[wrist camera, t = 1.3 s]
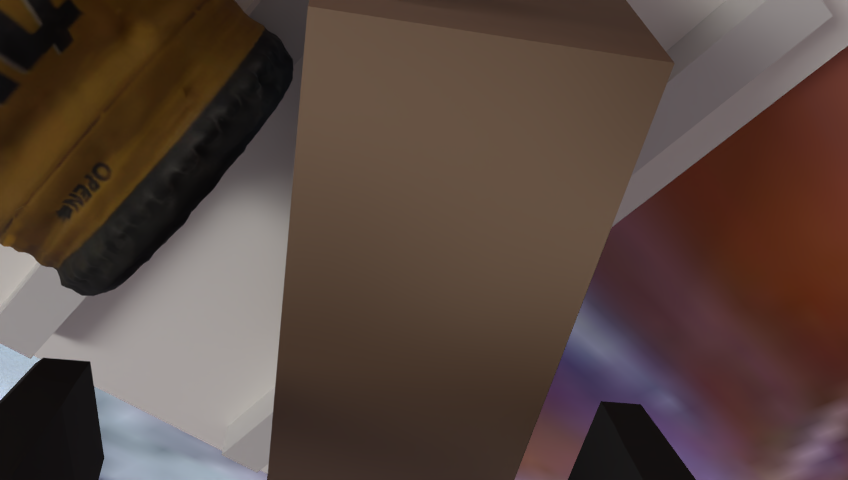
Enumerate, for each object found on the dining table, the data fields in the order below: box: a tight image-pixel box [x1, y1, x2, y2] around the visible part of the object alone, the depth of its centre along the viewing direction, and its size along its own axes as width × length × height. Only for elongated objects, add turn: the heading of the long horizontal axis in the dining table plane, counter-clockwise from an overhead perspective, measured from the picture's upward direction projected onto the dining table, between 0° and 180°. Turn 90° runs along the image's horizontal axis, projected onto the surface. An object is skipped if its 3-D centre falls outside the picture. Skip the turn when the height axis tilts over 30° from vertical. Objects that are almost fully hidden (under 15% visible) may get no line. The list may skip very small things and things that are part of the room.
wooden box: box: [267, 0, 675, 480], centre depth 14 cm, size 12×4×6 cm, turn 170°
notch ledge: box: [0, 0, 848, 474], centre depth 17 cm, size 20×11×2 cm, turn 136°
